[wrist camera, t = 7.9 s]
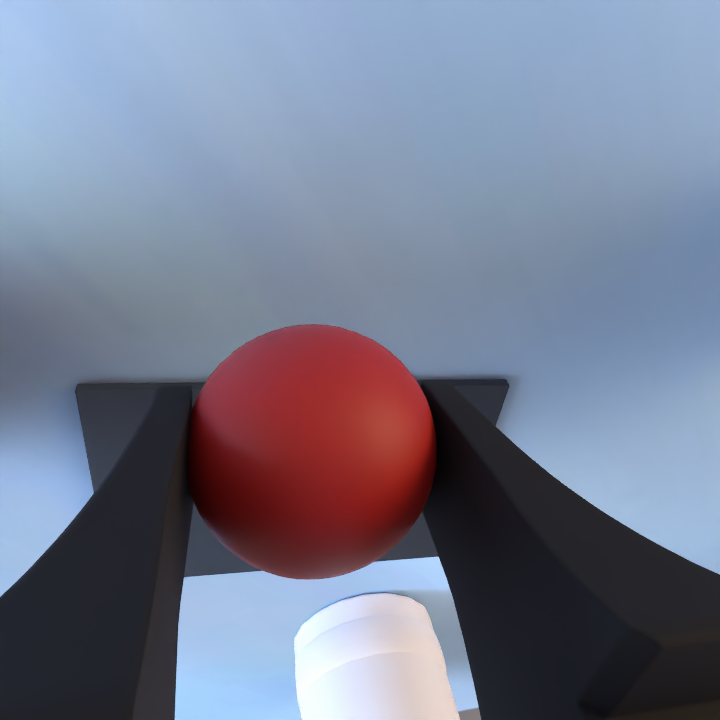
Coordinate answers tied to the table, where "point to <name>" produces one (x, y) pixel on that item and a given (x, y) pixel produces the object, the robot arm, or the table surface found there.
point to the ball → (311, 451)
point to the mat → (205, 552)
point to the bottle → (372, 662)
